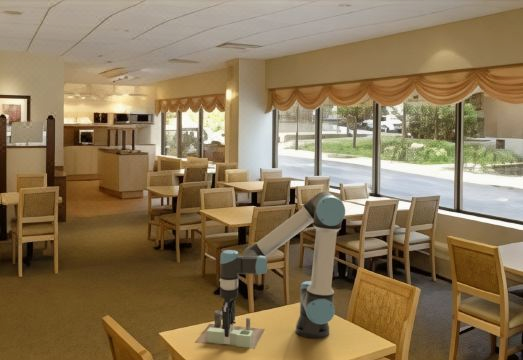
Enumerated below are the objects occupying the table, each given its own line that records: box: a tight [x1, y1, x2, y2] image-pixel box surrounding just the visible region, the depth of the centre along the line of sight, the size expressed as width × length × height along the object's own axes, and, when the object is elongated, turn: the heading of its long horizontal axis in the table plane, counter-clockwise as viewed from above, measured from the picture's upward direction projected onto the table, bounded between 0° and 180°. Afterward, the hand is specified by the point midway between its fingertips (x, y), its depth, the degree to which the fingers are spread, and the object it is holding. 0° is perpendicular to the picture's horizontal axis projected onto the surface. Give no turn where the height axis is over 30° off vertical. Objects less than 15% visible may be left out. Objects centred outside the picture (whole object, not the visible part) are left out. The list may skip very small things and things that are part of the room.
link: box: [207, 327, 253, 349], centre depth 227 cm, size 19×6×5 cm, turn 78°
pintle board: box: [194, 309, 266, 350], centre depth 234 cm, size 26×22×10 cm
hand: (228, 341), depth 227 cm, fingers closed on link, 4 cm apart
